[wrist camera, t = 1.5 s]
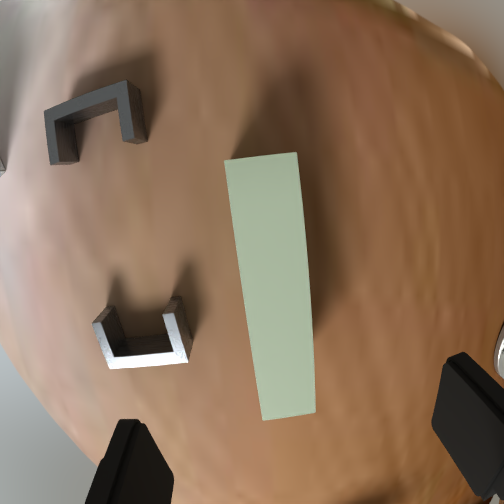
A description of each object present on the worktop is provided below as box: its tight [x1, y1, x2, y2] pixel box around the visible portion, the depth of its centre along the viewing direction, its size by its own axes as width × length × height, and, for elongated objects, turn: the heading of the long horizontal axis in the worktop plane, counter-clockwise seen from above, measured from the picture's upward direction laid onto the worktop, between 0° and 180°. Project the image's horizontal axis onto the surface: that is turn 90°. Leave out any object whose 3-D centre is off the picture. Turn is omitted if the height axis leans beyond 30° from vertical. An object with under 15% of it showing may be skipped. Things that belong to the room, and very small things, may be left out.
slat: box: [224, 152, 315, 420], centre depth 20 cm, size 4×16×7 cm, turn 7°
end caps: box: [44, 80, 193, 369], centre depth 21 cm, size 6×20×3 cm, turn 10°
